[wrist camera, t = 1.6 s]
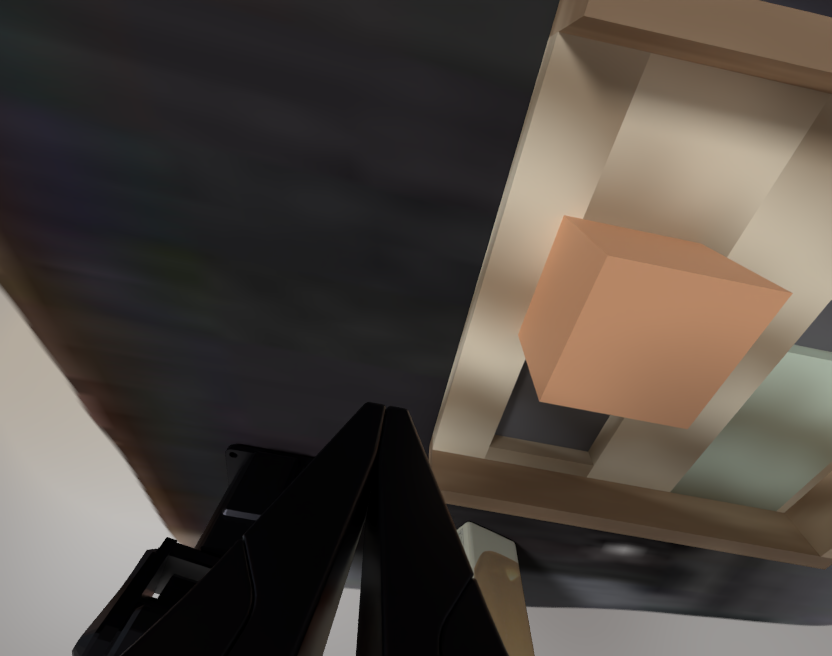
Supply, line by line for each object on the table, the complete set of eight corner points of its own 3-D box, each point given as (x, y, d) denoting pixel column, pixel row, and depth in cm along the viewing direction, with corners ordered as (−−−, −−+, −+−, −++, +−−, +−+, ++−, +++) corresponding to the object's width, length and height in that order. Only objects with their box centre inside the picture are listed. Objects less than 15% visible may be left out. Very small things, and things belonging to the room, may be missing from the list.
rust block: (634, 357, 18) (687, 429, 14) (518, 335, 17) (539, 401, 13) (701, 243, 15) (792, 293, 11) (563, 215, 15) (607, 255, 11)
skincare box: (467, 576, 30) (479, 829, 20) (420, 558, 29) (408, 812, 19) (519, 539, 27) (567, 813, 17) (469, 517, 26) (487, 792, 16)
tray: (773, 507, 24) (824, 569, 21) (429, 445, 23) (427, 500, 20) (1174, 141, 13) (1407, 153, 10) (560, -1, 12) (600, -37, 9)
